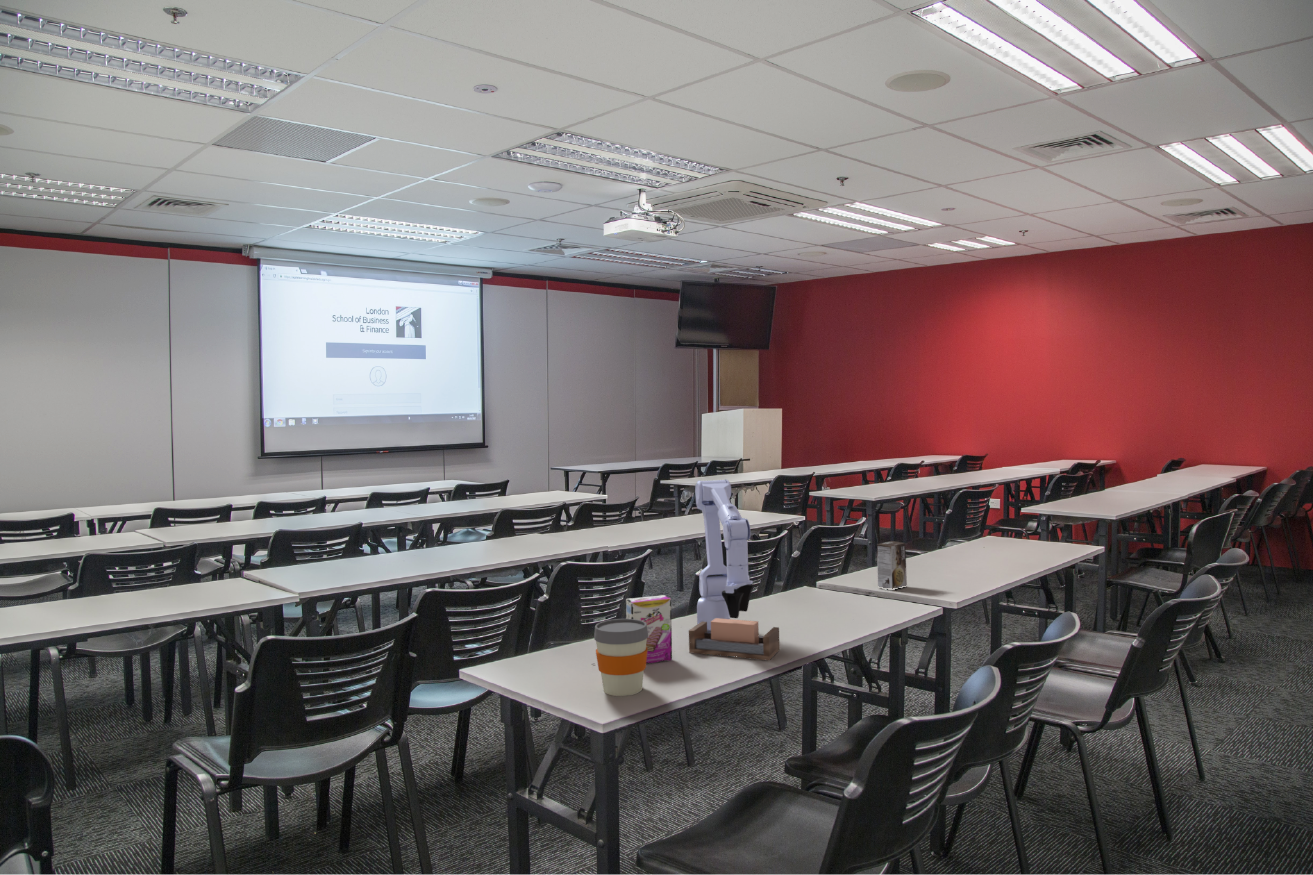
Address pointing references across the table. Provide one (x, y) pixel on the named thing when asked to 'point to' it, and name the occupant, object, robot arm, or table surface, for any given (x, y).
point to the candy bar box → (654, 624)
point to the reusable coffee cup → (621, 655)
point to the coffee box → (891, 564)
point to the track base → (733, 644)
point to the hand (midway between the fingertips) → (738, 614)
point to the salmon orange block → (735, 630)
